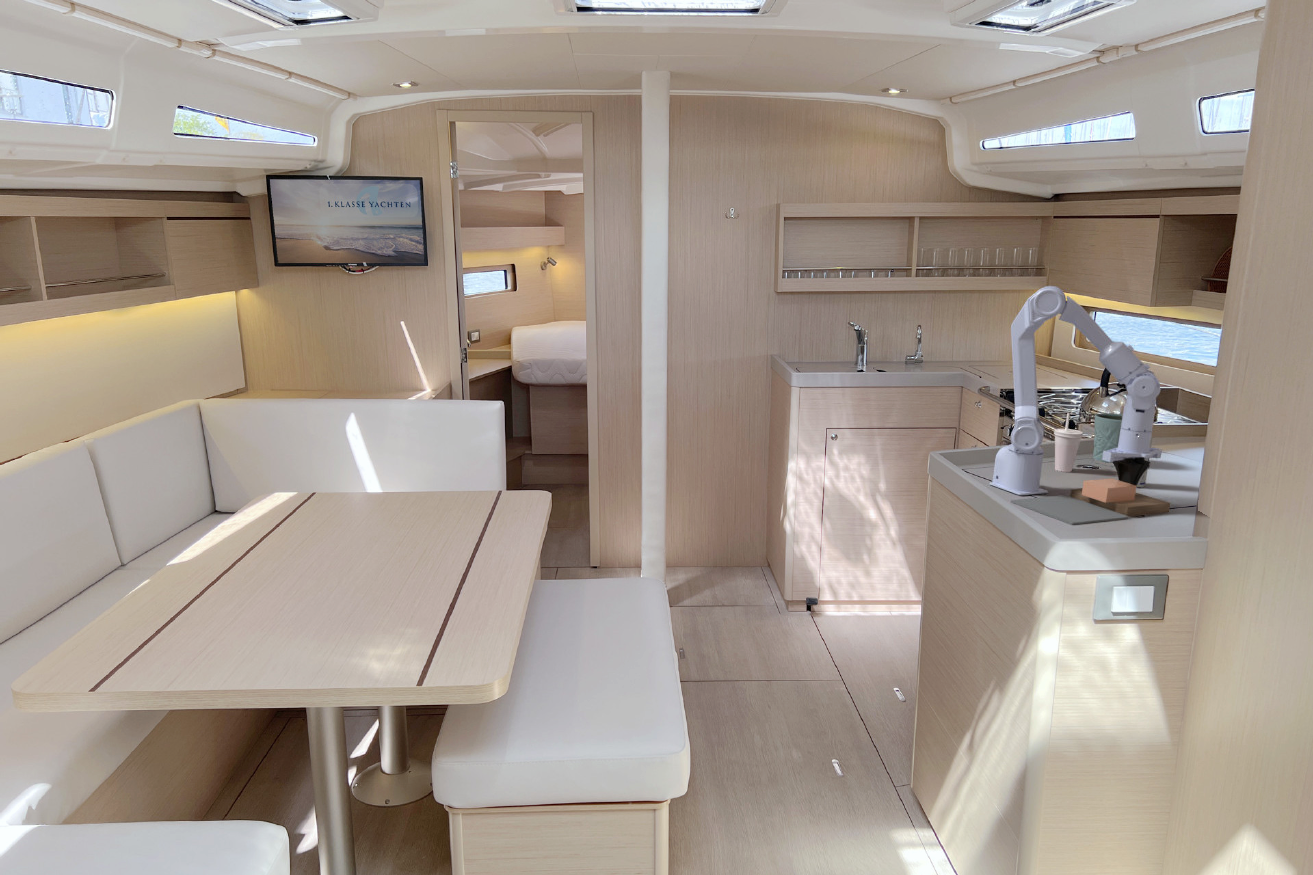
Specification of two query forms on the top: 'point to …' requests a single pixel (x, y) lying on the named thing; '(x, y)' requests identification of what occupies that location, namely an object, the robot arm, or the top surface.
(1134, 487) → the block
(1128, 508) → the brown wooden board
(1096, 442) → the green plant pot
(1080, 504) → the mat
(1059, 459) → the smoothie
